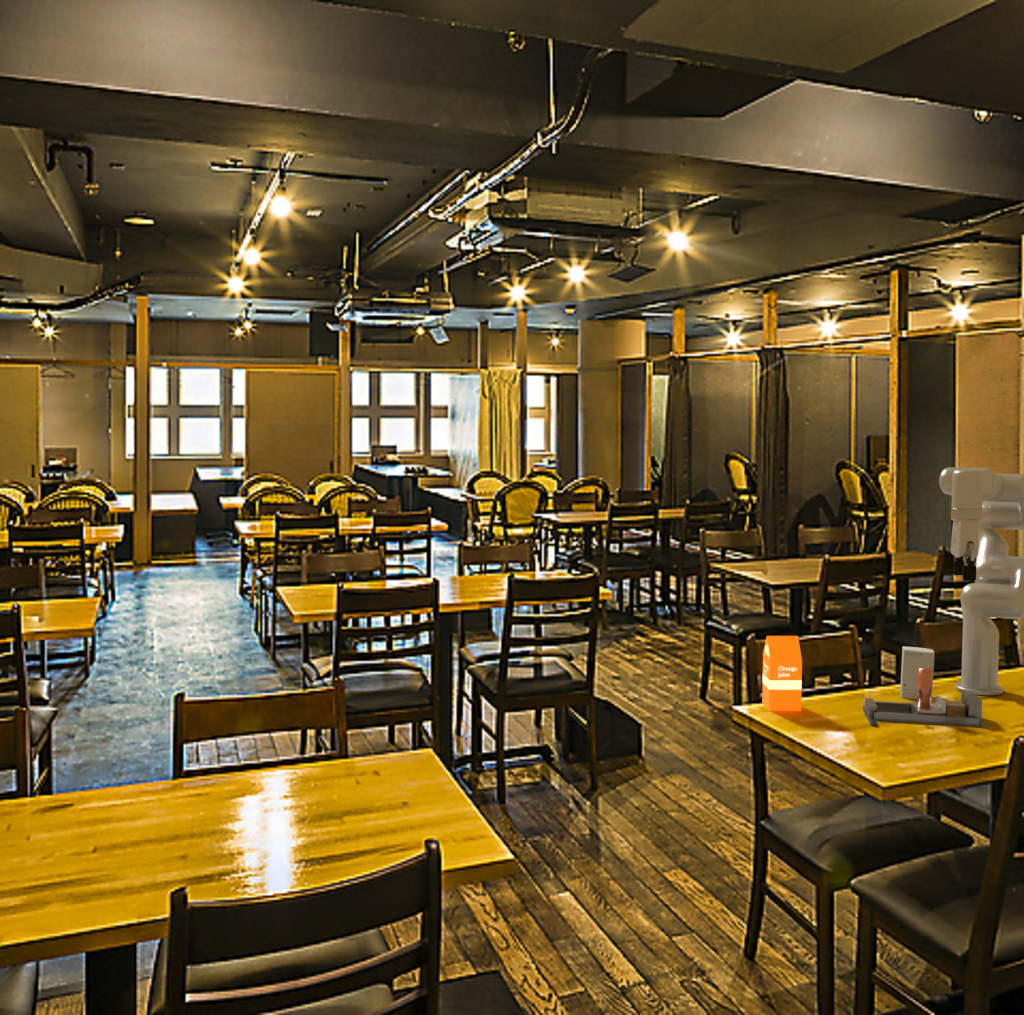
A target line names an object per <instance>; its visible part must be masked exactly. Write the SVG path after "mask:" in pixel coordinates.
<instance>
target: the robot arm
mask: <svg viewBox="0 0 1024 1015" xmlns="http://www.w3.org/2000/svg"><path fill="white" fill-rule="evenodd" d="M938 482H939V487H940V490H941V491H942V493H943V494H944V495H948V496H951V505H950V506H951V510H950V520H951V521H953V523H952V530H951V538H950V539H951V542H950V553H951V555H952V556H954V557H953V559H954V561H953V575H954V576H961V577H962V578H961V579H962V580H963V582H966V581H967V582H972V581H973V582H972V583H968V584H966V585H965V586H963V587H962V589H961V590H960V596H959V597H960V598H959V599H960V604H961V605H960V606H961V612H962V614H961V615H962V649H961V680H960V681H957V682H955V688H956V689H957V690H958V691H961V692H970V693H975V694H976V695H977V696H979V695H980V696H998V695H1001V694H1004V687H1003V686H1001V685H1000V684H998V682H999V655H1000V653H999V650H1000V631H999V628H998V627H997V625H996V624H995V622H994V621H993V619H991V618H1000V619H1006V620H1007V619H1008V620H1010V619H1011V620H1021V619H1023V618H1024V557H1023V556H1011V555H1009V551H1010V546H1009V543H1008V542H1007V541H1006V540H1005V538H1004V537H1003V536H1002V535H1001V534H1000V533H999V532H997V531H996V530H1014V531H1016V530H1017V531H1024V474H1023V473H998V472H997V473H996V472H995V471H994V469H992V468H988V467H972V466H971V467H968V466H967V467H966V466H963V467H960V466H958V467H956V466H955V467H953V466H952V467H951V466H949V467H946V468H944V469H943V470H942V471H941V473H940V475H939V480H938ZM995 529H996V530H995Z"/></svg>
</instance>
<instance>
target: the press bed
mask: <svg viewBox="0 0 1024 1015" xmlns="http://www.w3.org/2000/svg"><path fill="white" fill-rule="evenodd" d="M960 695H961V698H960V699H961V700H960V701H962V703H963V704H964V705H965V706H966V710H965V717H957V716H939V715H922V714H913V713H912V711H911V702H898V701H895V702H894V701H883V700H882V701H880V700H879V701H878V700H875V699H874V698H871V697H864V705H863V706H862V711H863V713H864V715H865V717H866V719H867V721H868V723H869V725H870V726H871V725H874V726H875V727H879V726H880V724H878V722H879V723H880V722H881V723H896V724H897V723H898V724H910V725H912V724H913V725H927V726H928V725H929V726H930V725H931V726H943V727H944V726H947V727H960V728H961V727H962V728H979V729H989V727H988V725H987V724H986V723H985V722H984V721H983V719H982V717H983V716H982V715H983V714H982V713H983V710H982V709H983V701H982V700H981V698H979V695H977V694H975V693H970V692H963V691H961V694H960ZM876 725H878V726H876ZM874 726H873V727H874Z"/></svg>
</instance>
